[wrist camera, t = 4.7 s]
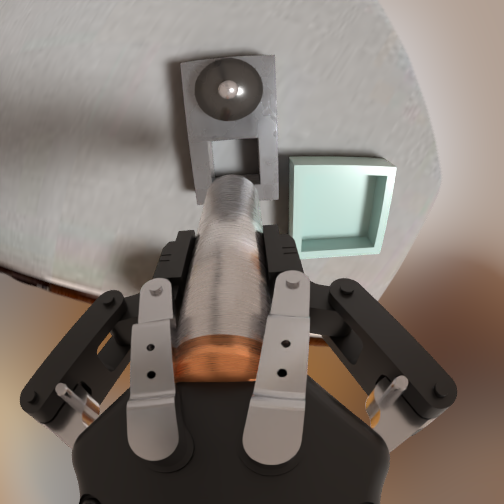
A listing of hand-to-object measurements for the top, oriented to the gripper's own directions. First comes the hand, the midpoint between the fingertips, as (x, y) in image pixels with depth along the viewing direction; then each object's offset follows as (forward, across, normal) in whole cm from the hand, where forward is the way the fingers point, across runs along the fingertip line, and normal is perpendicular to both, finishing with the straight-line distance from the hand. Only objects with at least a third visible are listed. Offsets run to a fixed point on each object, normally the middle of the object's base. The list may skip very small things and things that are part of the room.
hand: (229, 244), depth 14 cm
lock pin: (+5, 0, 0) cm, 5 cm away
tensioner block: (+17, 0, -3) cm, 17 cm away
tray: (+16, -11, +6) cm, 21 cm away
